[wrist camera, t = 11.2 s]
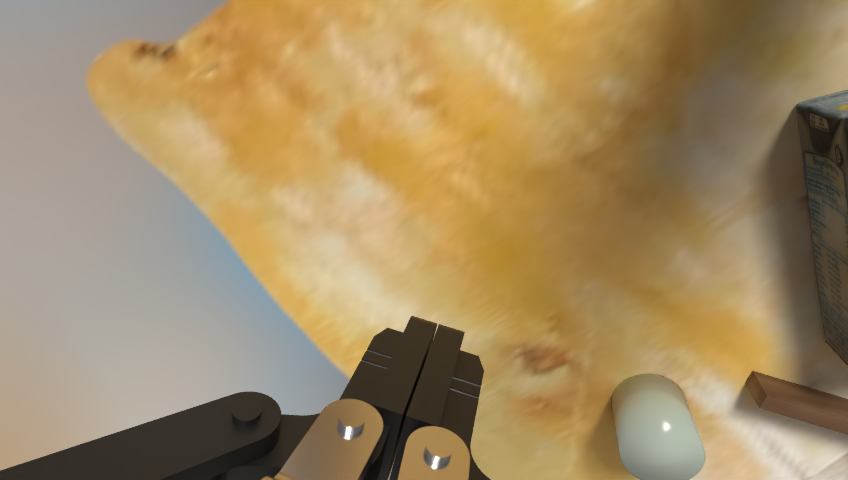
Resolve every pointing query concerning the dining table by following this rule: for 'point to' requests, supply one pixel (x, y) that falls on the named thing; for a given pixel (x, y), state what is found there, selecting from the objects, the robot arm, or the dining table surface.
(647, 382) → the grey rounded cylinder
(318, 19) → the dining table surface
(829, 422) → the frame
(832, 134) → the beverage carton
